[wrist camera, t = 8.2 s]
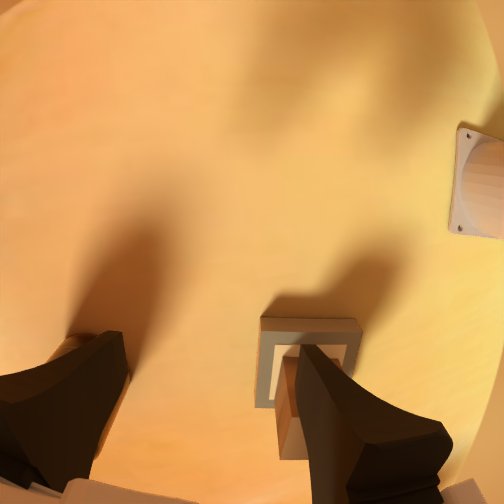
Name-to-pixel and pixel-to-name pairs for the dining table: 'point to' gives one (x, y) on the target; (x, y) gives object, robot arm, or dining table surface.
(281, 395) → the walnut block
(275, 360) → the base tile
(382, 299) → the dining table surface
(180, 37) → the dining table surface
